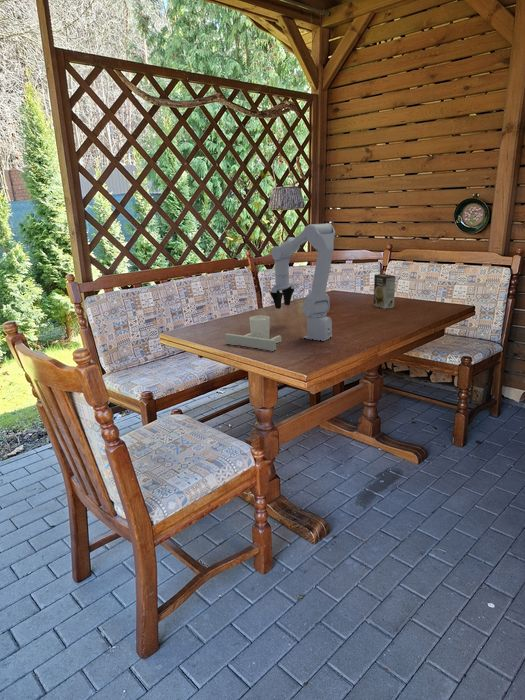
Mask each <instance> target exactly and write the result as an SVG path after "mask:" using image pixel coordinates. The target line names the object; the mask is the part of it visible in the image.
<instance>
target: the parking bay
mask: <svg viewBox="0 0 525 700" xmlns="http://www.w3.org/2000/svg"><path fill="white" fill-rule="evenodd" d="M224 335H225V336H224V337H225V344H226V343H230V344H236V345H242V346H249V347H254V348H260V349H266V350H272V351H274V350H276V351H277V344H276V343H278V342H280V343H282V335H279V334H278V335H276V336H273V337H272V338H269V339H264V338H257V337H251V332H249V333H246V334H245V335H243V334H242V335H241V334H233V333H225V334H224ZM278 344H279V343H278ZM266 350H265V351H266ZM272 351H271V352H272ZM274 352H275V351H274Z"/></svg>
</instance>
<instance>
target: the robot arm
mask: <svg viewBox="0 0 525 700" xmlns="http://www.w3.org/2000/svg"><path fill="white" fill-rule="evenodd" d="M335 237H336V230H335V228H334V226H333V225H332V224H331V223H330V222H326V223H314V224H312V223H310V224H308V225H307V226H306V225H305V227H304V228H303V230H302V231H301V232H300V233H299V234H297V236H295V237H293V236H292V237H291V236H290V237H287V239H286V241H284V242H282V243H281V244H280V245H279V246H277V245H275V246H273V248H272V249H271V256H272V257H271V258H272V259H273V260H274V275H275V276H274V278H275V284H274V285H273V287H271V291H270V292H269V294H270V296H271V298H272V300H273V303H274V307H275V309H278V310H280V309H281V308H282V299H283V304H284V305H285V306H290V305H291V300H292V297H293V294H294V292H295V288H294V285H293V284H294V283H293V282H290V275H289V274H290V270H289V269H290V267H289V264H290V262H291V257H292V255H293V254H295V253H296V252H297V251H298V250H299V249H300V248H301V245H303V244H305V243H306V242H309V244H310V245H311V246H312V247H313V249H315V250H316V251H317V256H316V262H315V267H314V273H313V278H312V279H313V280H312V283H311V284H312V286H311V290H310V291H309V292H308V294H306V296H305V299H304V301H303V303H302V311H303V314H304V315H305V317H306V333H307V334H306V335H304V336H303V337H302V338H303V339H304V338H306V340H312V339H313V340H315V341H320V340H321V341H320V342H325V341H327V340H329V339H331V338H332V337H334V336H333V334H332V333H333V321H332V318H331V317H329V316H327V313H328V312H329V311H330V308H331V307H330V306H331V305H330V299H331V297H330V296H329V295H328V293H326V292H327V291H326V290H327V286H328V282H329V277H330V271H331V266H332V260H333V255H334V250H335V248H334V247H335V246H334V241H335ZM280 291H281V292H280ZM330 337H331V338H330Z"/></svg>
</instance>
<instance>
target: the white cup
mask: <svg viewBox="0 0 525 700" xmlns="http://www.w3.org/2000/svg"><path fill="white" fill-rule="evenodd" d="M270 326H271V318H270V316H268V315H253V316H250V317H249V329H250V333H251V337H257V338H264V339H270V330H271V329H270Z"/></svg>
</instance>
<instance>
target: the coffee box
mask: <svg viewBox="0 0 525 700" xmlns="http://www.w3.org/2000/svg"><path fill="white" fill-rule="evenodd" d="M373 283H374V285H373V307H376V308H379V307H380V309H384V310H385V309H386V308H387V309H394V308H395V293H396V292H395V291H396V275H391V274H385V273H381V274H374V282H373ZM393 307H394V308H393Z"/></svg>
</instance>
